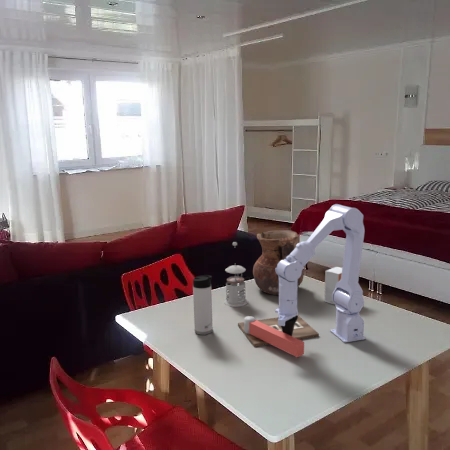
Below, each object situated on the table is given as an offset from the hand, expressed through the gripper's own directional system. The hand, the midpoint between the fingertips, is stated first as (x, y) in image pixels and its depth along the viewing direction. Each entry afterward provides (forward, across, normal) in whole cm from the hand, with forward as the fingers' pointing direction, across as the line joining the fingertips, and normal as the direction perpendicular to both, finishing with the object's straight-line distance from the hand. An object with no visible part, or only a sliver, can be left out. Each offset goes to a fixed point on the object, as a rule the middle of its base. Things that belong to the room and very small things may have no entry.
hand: (287, 338), depth 146 cm
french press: (+3, -31, -31) cm, 44 cm away
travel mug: (+3, -1, -30) cm, 30 cm away
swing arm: (+2, +1, -5) cm, 5 cm away
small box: (+3, -45, +7) cm, 46 cm away
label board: (+3, -10, -7) cm, 13 cm away
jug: (+3, -50, -19) cm, 53 cm away
